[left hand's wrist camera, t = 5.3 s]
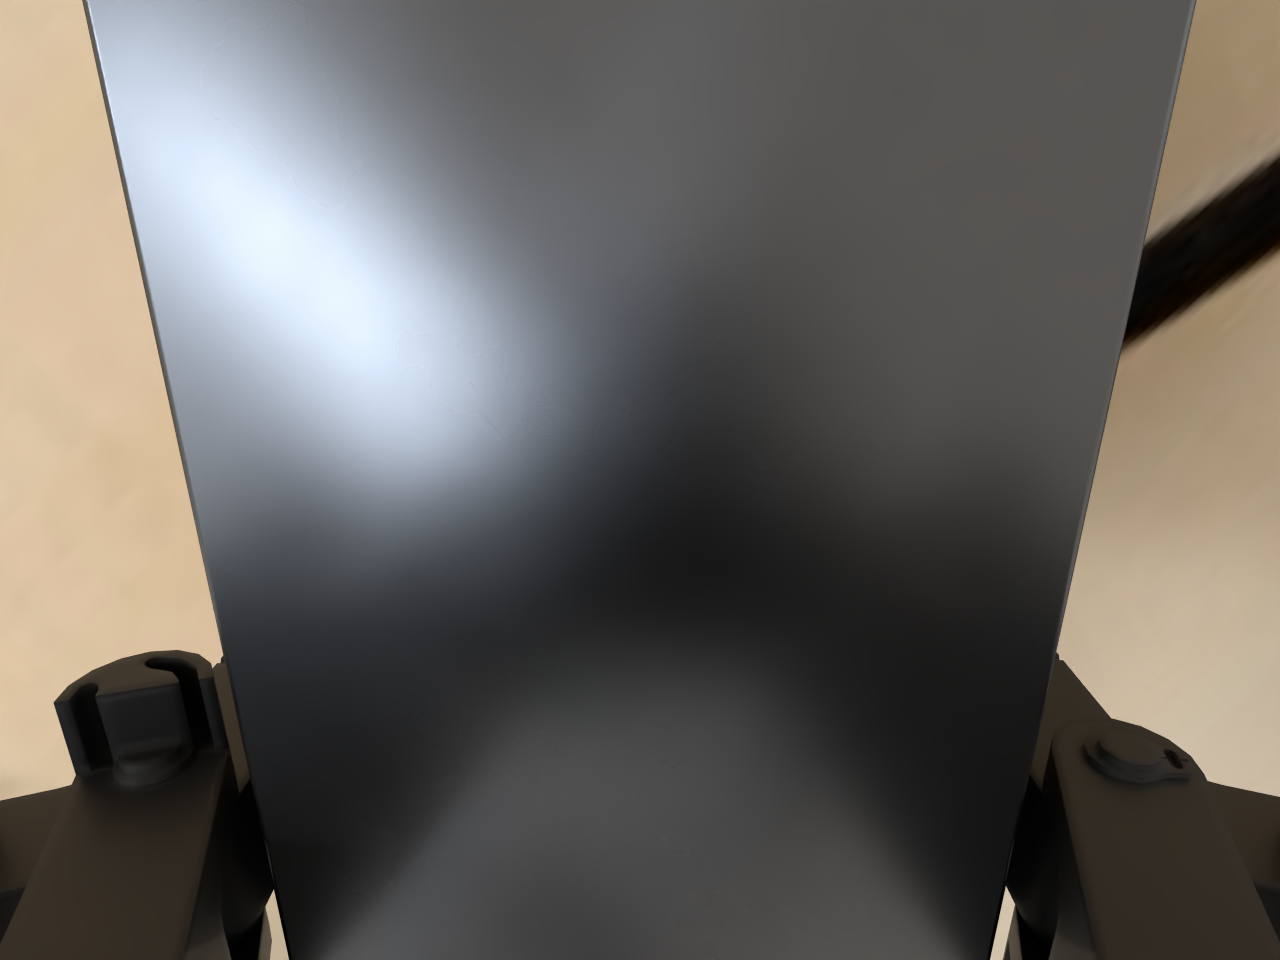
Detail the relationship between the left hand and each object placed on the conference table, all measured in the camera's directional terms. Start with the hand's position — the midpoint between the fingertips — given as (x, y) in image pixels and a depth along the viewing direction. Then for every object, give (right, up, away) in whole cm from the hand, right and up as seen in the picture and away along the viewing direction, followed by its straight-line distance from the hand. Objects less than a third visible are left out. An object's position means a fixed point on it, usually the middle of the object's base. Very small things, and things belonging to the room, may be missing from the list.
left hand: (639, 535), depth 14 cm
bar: (0, +10, -3) cm, 10 cm away
